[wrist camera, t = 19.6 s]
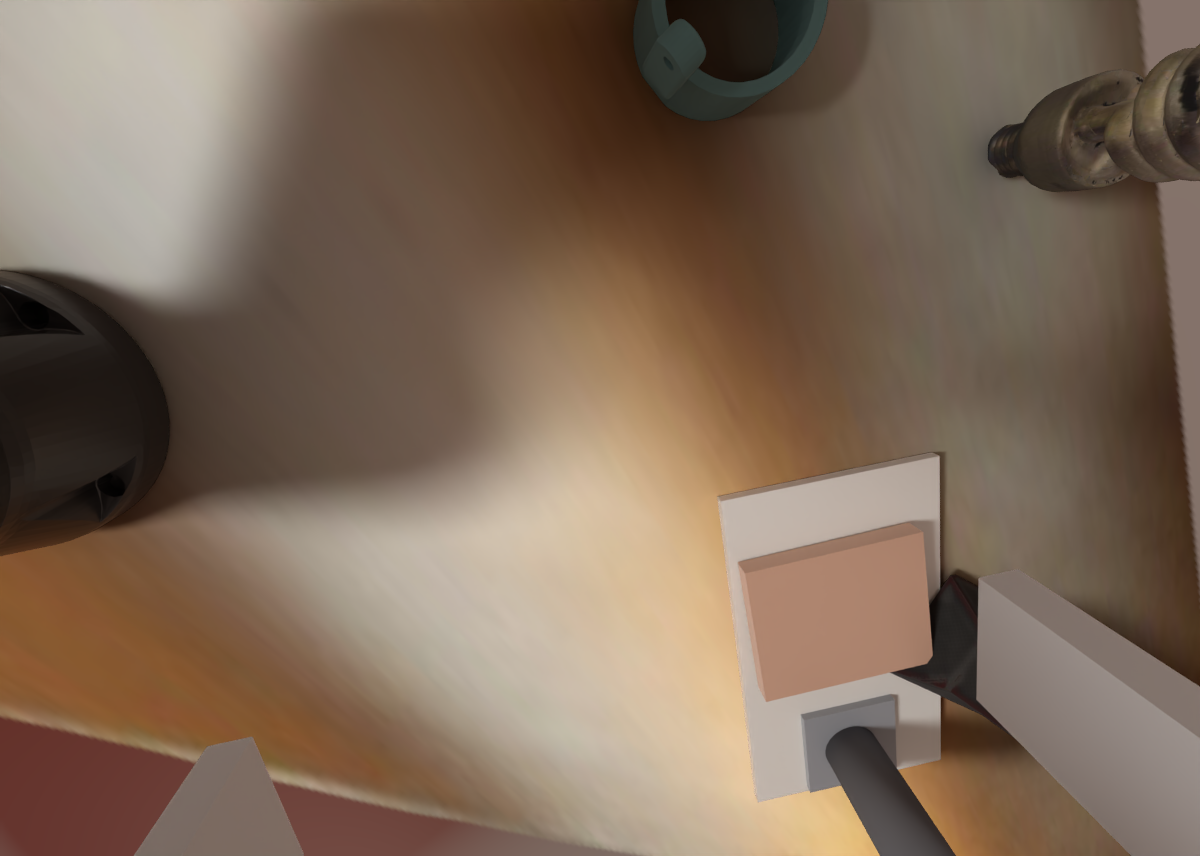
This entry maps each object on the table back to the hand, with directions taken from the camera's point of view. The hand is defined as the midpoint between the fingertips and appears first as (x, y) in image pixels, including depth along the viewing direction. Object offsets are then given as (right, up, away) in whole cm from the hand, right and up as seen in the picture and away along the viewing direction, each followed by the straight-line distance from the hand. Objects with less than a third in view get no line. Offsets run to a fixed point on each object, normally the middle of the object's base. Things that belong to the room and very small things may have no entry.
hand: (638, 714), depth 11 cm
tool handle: (+18, -19, +34) cm, 43 cm away
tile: (+14, -3, +28) cm, 32 cm away
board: (+17, -10, +33) cm, 38 cm away
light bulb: (+23, +21, +24) cm, 40 cm away
